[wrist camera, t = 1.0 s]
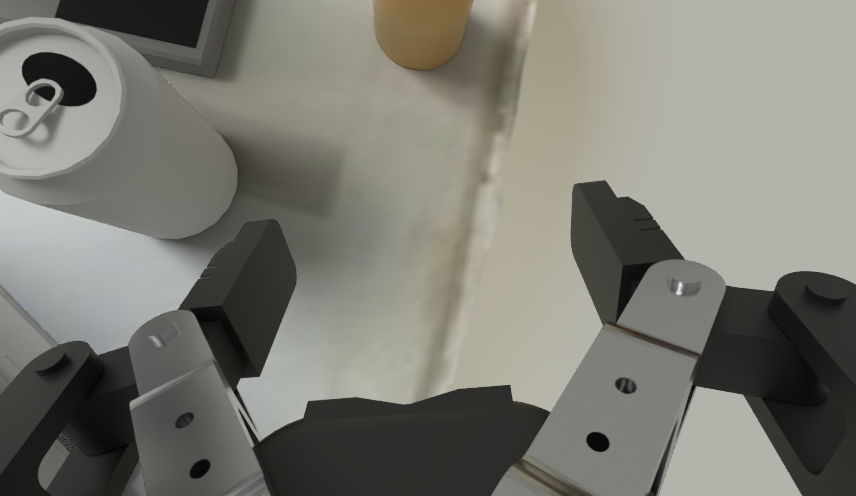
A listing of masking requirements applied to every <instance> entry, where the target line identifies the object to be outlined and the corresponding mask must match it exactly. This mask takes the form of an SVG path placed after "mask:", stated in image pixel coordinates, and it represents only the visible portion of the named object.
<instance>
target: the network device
mask: <svg viewBox="0 0 856 496" xmlns="http://www.w3.org/2000/svg"><path fill="white" fill-rule="evenodd" d="M56 346H58V344H57V343H56V342H55V341H54V340H53V339H52V338H51V337H50V336H49V335H48V334H47V333H46V332H45V331H44V330H43V329H42V328H41V327H40V326H39V325H38V324H37V323H36V322H35V321H34V320H33V319H32V318H31V317H30V316H29V315H28V314H27V313H26V312H25V311H24V310H23V309H22V308H21V307H20V306H19V305H18V304H17V303H16V302H15V301H14V300H13V298H12V297H11V296H10V295H9V294H8V293H7V292H6V291H5V290H4V289H3V288H2V287H1V286H0V394H1V393H2V392H3V391H4V390H5V389H6V387H7V386H8V385H9V384H10V383H11V382H12V381H13V379H14V378H15V377H16V376H17V375H18V374H19V373H20V372H21V370H22V369H23V368H24V367H25V366H26V365H27V364H28V363H30V362H31V361H32V360H33V359H35V358H36V357H37V356H39V355H41V354H42V353H44V352H46V351H47V350H49V349H51V348H53V347H56ZM69 454H70V452H69V451H68V450H67V449H66V448H65V447H64V446H63V445H62V444H61V443H60V442H59V441H58V440H57V439H56V440H55V442H54V443H53V445H52V446H51V448H50V449H49V451H48V452H47V454H46V455H45V456H44V458H43V460H42V461H41V464H40V466H39V471H38V480H39V483H40V485H41V486H42V487H43V488H44V489H45V490H46V489H47V488H48V486H49V485H50V483H51V481H52V480H53V478H54V477H55V475H56V474H57V472H58V471H59V469H60V468H61V466H62V464H63V463H64V461H65V460H66V458H67V457H68V455H69Z"/></svg>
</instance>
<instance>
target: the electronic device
mask: <svg viewBox="0 0 856 496" xmlns="http://www.w3.org/2000/svg"><path fill="white" fill-rule="evenodd" d="M234 4H235V0H0V24H2V23H4V22H9V21H14V20H18V19H23V18H28V17H44V18H59V19H63V20H65V21H68V22H71V23H74V24H76V25H79V26H90V27H92V28H95V29H98V30H101V31H103V32H106V33H109V34H112V35H114V36H117V37H119V38H120V39H121V40H122V41H124V42H125V43H126V44H128V45H129V46H130V47H132V48H133V49H134V50H136V51H137V52H138V53H140V54H141V55H142V56H143V57H144V58H145V59H146V60H147V61H148V62H149V63H150V64H151V65H152V66H156V67H161V68H166V69H171V70H175V71H180V72H185V73H189V74H194V75H199V76H203V77H208V78H212V77H214V76H216V72H217V69H218V65H219V61H220V57H221V53H222V50H223V46H224V42H225V38H226V34H227V31H228V27H229V23H230V19H231V15H232V12H233V8H234Z"/></svg>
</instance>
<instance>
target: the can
mask: <svg viewBox="0 0 856 496" xmlns="http://www.w3.org/2000/svg"><path fill="white" fill-rule="evenodd" d="M237 177H238V169H237V166H236V162H235V158H234V154H233V152H232V150H231V149H230V148H229V146H228V145H227V143H226V142H225V140H224V139H223V137H222V136H221V135H220V134H219V133H218V132H217V131H216V130H215V129H214V128H213V127H212V126H211V125H210V124H209V123H208V122H207V121H206V120H205V119H204V118H203V117H202V116H201V115H200V114H199V113H198V112H197V111H196V110H195V109H194V108H193V107H192V106H191V105H190V104H189V103H188V102H187V101H186V100H185V99H184V98H183V97H182V96H181V95H180V94H179V93H178V92H177V91H176V90H175V89H174V88H173V87H172V86H171V85H170V84H169V83H168V82H167V81H166V80H165V79H164V78H163V77H162V76H161V75H160V73H159V72H158V71H157V70H156V69H155V68H154V67H153V66H152V65H151V64H150V63H149V62H148V61H147V60H146V59H145V58H144V57H143V56H142V55H141V54H140V53H138V52H137V51H136V50H134V49H133V48H132V47H130V46H129V45H128V44H126V43H125V42H124V41H122V40H121V39H120V38H119V37H117V36H114V35H112V34H109V33H106V32H103V31H101V30H98V29H95V28H92V27H90V26H79V25H76V24H74V23H71V22H68V21H65V20H63V19H59V18H44V17H28V18H23V19H18V20H14V21H9V22H4V23H2V24H0V189H1V190H2V191H3V192H5V193H6V194H8V195H11V196H14V197H17V198H20V199H23V200H26V201H29V202H32V203H35V204H38V205H41V206H45V207H48V208H52V209H55V210H59V211H62V212H66V213H69V214H73V215H77V216H80V217H84V218H87V219H91V220H94V221H98V222H101V223H105V224H108V225H112V226H115V227H119V228H122V229H126V230H129V231H133V232H136V233H140V234H144V235H147V236H151V237H154V238H158V239H181V238H184V237H188V236H192V235H195V234H199V233H200V232H202V231H204V230H205V229H207V228H208V227H210V226H212V225H213V224H215V223H216V222H217V221H218V220H219V219H220V218H221V216H222V215H223V214H224V213H225V212H226V211H227V209H228V208H229V207H230V204H231V202H232V199H233V197H234V195H235V192H236V190H237Z"/></svg>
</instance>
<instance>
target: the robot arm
mask: <svg viewBox="0 0 856 496" xmlns="http://www.w3.org/2000/svg"><path fill="white" fill-rule="evenodd" d="M571 246H572V252H573V255H574V258H575V261H576V263H577V265H578V268H579V270H580V272H581V274H582V277H583V279H584V282H585V284H586V286H587V289H588V291H589V294H590V296H591V298H592V301H593V303H594V305H595V308H596V310H597V312H598V315H599V317H600V319H601V322H602V324H603V328H602V329H601V331H600V332H599V334H598V336H597V337H596V339H595V341H594V342H593V344H592V346H591V347H590V349H589V350H588V352H587V354H586V355H585V357H584V359H583V360H582V362H581V364H580V365H579V367H578V369H577V370H576V372H575V373H574V375H573V377H572V379H571V380H570V382H569V384H568V385H567V387H566V388H565V390H564V392H563V393H562V395H561V396H560V398H559V400H558V401H557V403H556V405H555V407H554V408H553V410H552V411H551V412H549V411H547V410H545V409H542V408H539V407H536V406H534V405H530V404H526V403H523V402H517V401H513V400H512V394H511V388H510V385H503V386H491V387H478V388H466V389H457V390H455V391H451V392H448V393H444V394H441V395H438V396H435V397H431V398H428V399H425V400H422V401H418V402H415V403H412V404H406V405H403V404H396V403H389V402H383V401H376V400H370V399H364V398H357V397H354V398H342V399H329V400H317V401H308V403H307V407H306V411H305V414H304V418H303V419H300V420H297V421H295V422H292V423H290V424H287V425H285V426H284V427H282V428H280V429H278V430H276V431H274V432H273V433H271V434H270V435H268V436H267V437H265V438H264V439H262V436H261V434H260V432H259V430H258V428H257V426H256V424H255V422H254V420H253V418H252V416H251V414H250V412H249V410H248V408H247V405H246V403H245V401H244V399H243V397H242V395H241V393H240V392H239V390H238V388H237V385H238V382H239V380H240V378H250V377H260V375H261V372H262V370H263V367H264V364H265V362H266V359H267V357H268V354H269V352H270V349H271V347H272V344H273V342H274V339H275V336H276V334H277V331H278V329H279V326H280V324H281V321H282V319H283V316H284V314H285V311H286V309H287V306H288V303H289V301H290V298H291V296H292V293H293V291H294V288H295V285H296V279H297V275H296V267H295V264H294V261H293V259H292V256H291V253H290V251H289V248H288V246H287V243H286V240H285V238H284V235H283V233H282V230H281V227H280V225H279V223H278V222H277V221H276V220H274V219H270V220H262V221H253V222H247V223H245V224H244V226H243V227H242V229H241V230H240V232H239V233H238V235H237V237H236V238H235V240H234V241H233V242H229V243H228V244H227V245H226V246H225V247H223V248H222V249H221V250H220V251H218V252H217V253H216V254H215V255H214V257H213V258H212V260H211V261H210V263H209V264H208V266H207V267H208V268H207V269H205V270H204V272H203V273H202V274H201V276H200V277H201V279H198V280H197V282H196V283H195V285H194V286H193V288H192V289H191V291H190V292H189V294H188V295H187V297H186V298H185V299H184V301H183V302H182V304H181V305H180V307H179V308H178V310H175V311H170V312H167V313H164V314H161V315H159V316H157V317H155V318H153V319H151V320H150V321H148V322H146V323H145V324H144V325H142V326H141V327H140V328H139V329H138V330H137V331H136V332H135V333H134V334H133V336H132V337H131V339H130V341H129V346H126V347H123V348H119V349H116V350H113V351H110V352H107V353H104V354H101V355H97V354H96V353H95V352H94V350H93V349H92V348H91V347H90V346H89V344H88V343H86V342H83V341H72V342H67V343H64V344H61V345H58V346H56V347H53V348H51V349H49V350H47V351H46V352H44V353H42V354H41V355H39V356H37V357H36V358H35V359H33V360H32V361H31V362H30V363H28V364H27V365H26V366H25V367H24V368H23V369H22V370H21V372H20V373H19V374H18V375H17V376H16V377H15V378H14V379H13V381H12V382H11V383H10V384H9V385H8V386H7V387H6V389H5V390H4V391H3V392H2V393H1V394H0V496H121V494H122V492H123V490H124V488H125V486H126V484H127V482H128V480H129V478H130V476H131V474H132V472H133V470H134V468H135V466H136V464H137V462H138V460H139V458H140V463H141V468H142V473H143V478H144V484H145V489H146V494H147V496H658V495H659V492H660V489H661V486H662V484H663V481H664V478H665V475H666V472H667V469H668V466H669V463H670V459H671V457H672V454H673V451H674V448H675V445H676V443H677V440H678V437H679V434H680V431H681V429H682V426H683V423H684V420H685V418H686V415H687V412H688V409H689V407H690V404H691V401H692V399H693V396H694V393H695V390H696V388H697V386H699V387H704V388H709V389H715V390H721V391H726V392H732V393H737V394H743V395H744V397H745V398H746V400H747V402H748V404H749V405H750V407H751V409H752V410H753V412H754V414H755V416H756V417H757V419H758V421H759V422H760V424H761V426H762V428H763V429H764V431H765V433H766V434H767V436H768V438H769V440H770V441H771V443H772V445H773V446H774V448H775V450H776V452H777V453H778V455H779V457H780V458H781V460H782V462H783V463H784V465H785V467H786V469H787V470H788V472H789V473H790V475H791V477H792V479H793V481H794V482H795V484H796V486H797V487H798V489H799V491H800V492H801V494H802V496H856V285H855V284H854V283H852V282H849V281H847V280H845V279H843V278H840V277H837V276H834V275H829V274H825V273H820V272H810V271H800V272H793V273H789V274H787V275H784V276H783V277H781V278H780V279H779V280H778V282H777V285H776V287H775V290H774V291H765V290H755V289H746V288H737V287H731V286H726V285H725V282H724V280H723V278H722V277H721V276H720V275H719V274H718V273H717V272H716V271H714V270H712V269H711V268H709V267H707V266H705V265H702V264H700V263H696V262H693V261H688V260H685V259H684V258H683V256H682V255H681V254H680V252H679V251H678V250H677V249H676V247H675V246H674V245H673V243H672V242H671V240H670V239H669V238H668V237H667V235H666V234H665V233H664V231H663V230H661V229H660V226H659V225H658V223H657V222H656V221H655V220H653V217H652V216H651V214H650V213H649V212H648V210H647V209H646V208H645V207H644V205H642V204H640V203H638V202H636V201H635V200H633V199H631V198H629V197H620V198H617V197H616V195H615V194H614V192H613V191H612V189H611V188H610V186H609V185H608V183H607V182H606V181H605V180H604V181H594V182H586V183H578V184H575V185H574V187H573V192H572V216H571ZM61 432H62V433H63V434H64V435H65V436H66V437H67V438H68V439H69V440H70V441H72V442H73V443H74V444H75V446H74V447H73V449H72V450H71V452H70V454H69V455H68V457H67V458H66V460H65V461H64V463H63V464H62V466H61V468H60V469H59V471H58V472H57V474H56V475H55V477H54V478H53V480H52V481H51V483H50V485H49V486H48V488H47V489H46V490H45V489H44V488H43V487H42V486H41V485H40V483H39V480H38V471H39V466H40V464H41V461H42V460H43V458H44V456H45V455H46V454H47V452H48V451H49V449H50V448H51V446H52V445H53V443H54V442H55V440H56V439H57V438H58V436H59V435H60V433H61Z"/></svg>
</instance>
